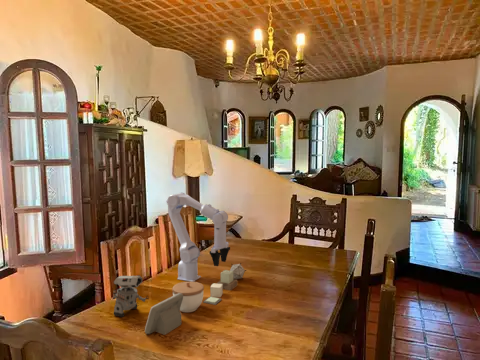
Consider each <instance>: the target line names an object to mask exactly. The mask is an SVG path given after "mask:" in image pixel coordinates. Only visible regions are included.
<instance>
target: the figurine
mask: <svg viewBox="0 0 480 360" xmlns="http://www.w3.org/2000/svg"><path fill="white" fill-rule="evenodd" d="M142 283H143V277H142V276H141V275H140V274H139V275H138V274H137V275H119V276H118V277H116V278H115V280H114V281H113V284H114V285H118V286H119V288H115V289H114V290H113V294H112V299H113V300H115V305H114V309H113V310H114V311H113V315H114V316H116V317H119V318H120V317H121V318H122V317H124V316H125V312H124V311H130V310H136V309H137V308H138V307H139V302H137V299H138V300H139V301H142V302H144V303H145V302H146V300H149V297H148V296H145V297H142V296H140V295H139V293H138V289H137V288H138V287H139V286H140V285H141V284H142Z"/></svg>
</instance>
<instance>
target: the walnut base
mask: <svg viewBox="0 0 480 360" xmlns="http://www.w3.org/2000/svg"><path fill="white" fill-rule="evenodd" d="M216 284H223V290H226V291H232V290H233V289H235V288H236V287H237V286H238V279H233V281H232V282H230V283H224V282H221V280H219V281H218V282H217V283H216Z"/></svg>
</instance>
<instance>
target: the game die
mask: <svg viewBox="0 0 480 360" xmlns="http://www.w3.org/2000/svg"><path fill="white" fill-rule="evenodd" d="M229 271H233V279H234V280H239V279H241V280H244V278H243V276H244V274H245V272H246V271H247V270H246V269H245V268H244V267H243V266H242V263H241V262H240V263H235V264H233V263H231V268H230V270H229Z"/></svg>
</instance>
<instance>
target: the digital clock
mask: <svg viewBox="0 0 480 360" xmlns="http://www.w3.org/2000/svg"><path fill="white" fill-rule="evenodd" d="M182 300H183V294H182V293H178V294H176V295H174V296H173V295H172V296H170V297H168V298H166V299H164V300H162V301H160V302H158V303H156V304H154V305H153V306H151V307H150V310H149V313H148V316H147V320H146V323H145V327H144V333H145V334H146V335H151V334H152V333H154V332H156V333H159V334H161V335H164V336H165V335H167V334H169V333H170V332H172V331H173V330H174V329H177V328H178V327H179V326H181V325H182V313H181V312H182V311H180V307H181V304H182Z"/></svg>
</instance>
